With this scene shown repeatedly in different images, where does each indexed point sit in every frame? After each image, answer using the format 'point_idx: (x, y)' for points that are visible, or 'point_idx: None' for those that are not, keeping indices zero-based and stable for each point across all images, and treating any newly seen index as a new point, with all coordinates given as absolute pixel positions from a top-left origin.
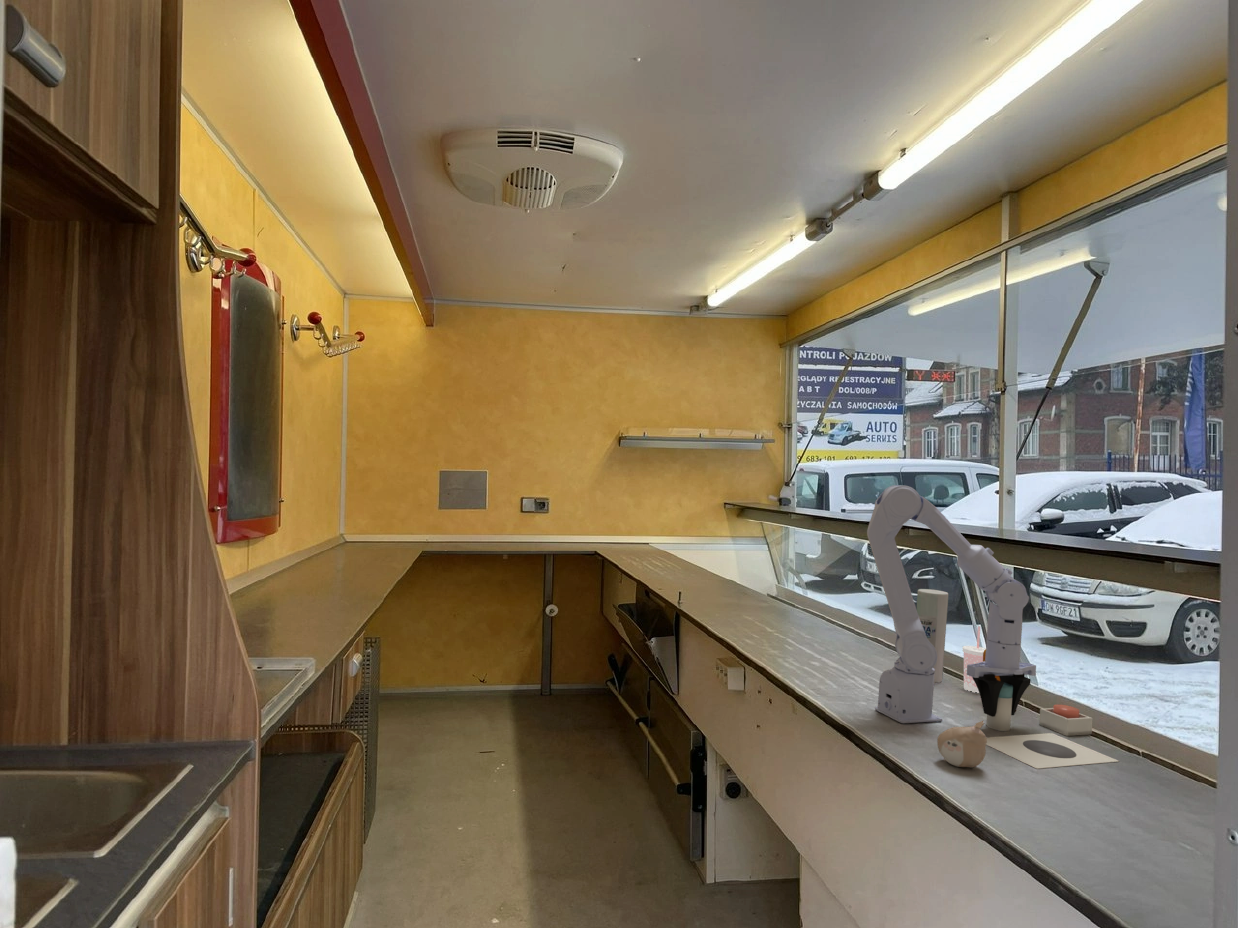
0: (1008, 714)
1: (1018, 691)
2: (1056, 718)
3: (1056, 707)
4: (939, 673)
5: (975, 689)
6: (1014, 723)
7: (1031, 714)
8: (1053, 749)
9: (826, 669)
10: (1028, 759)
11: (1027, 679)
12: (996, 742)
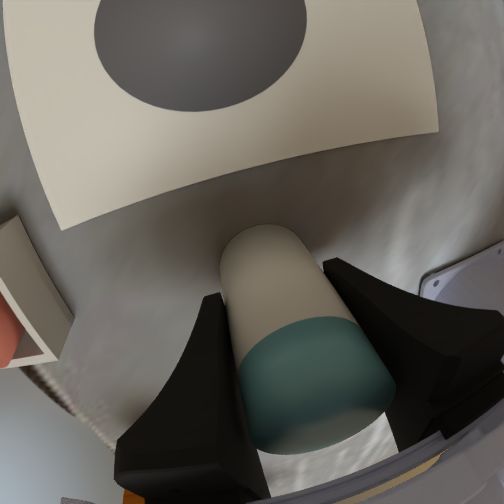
0: (266, 263)
1: (216, 382)
2: (19, 287)
3: (2, 339)
4: None
5: None
6: (164, 316)
7: (75, 386)
8: (184, 7)
9: (380, 457)
10: None
11: (148, 476)
12: (393, 86)
